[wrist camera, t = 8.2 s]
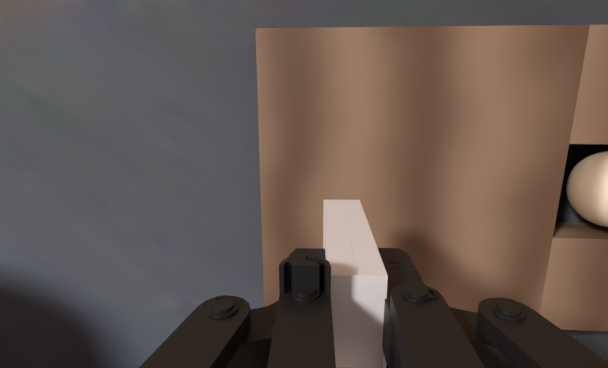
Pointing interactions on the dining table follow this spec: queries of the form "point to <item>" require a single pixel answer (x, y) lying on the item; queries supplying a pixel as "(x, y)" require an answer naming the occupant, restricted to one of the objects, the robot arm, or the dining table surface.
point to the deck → (440, 154)
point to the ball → (590, 188)
